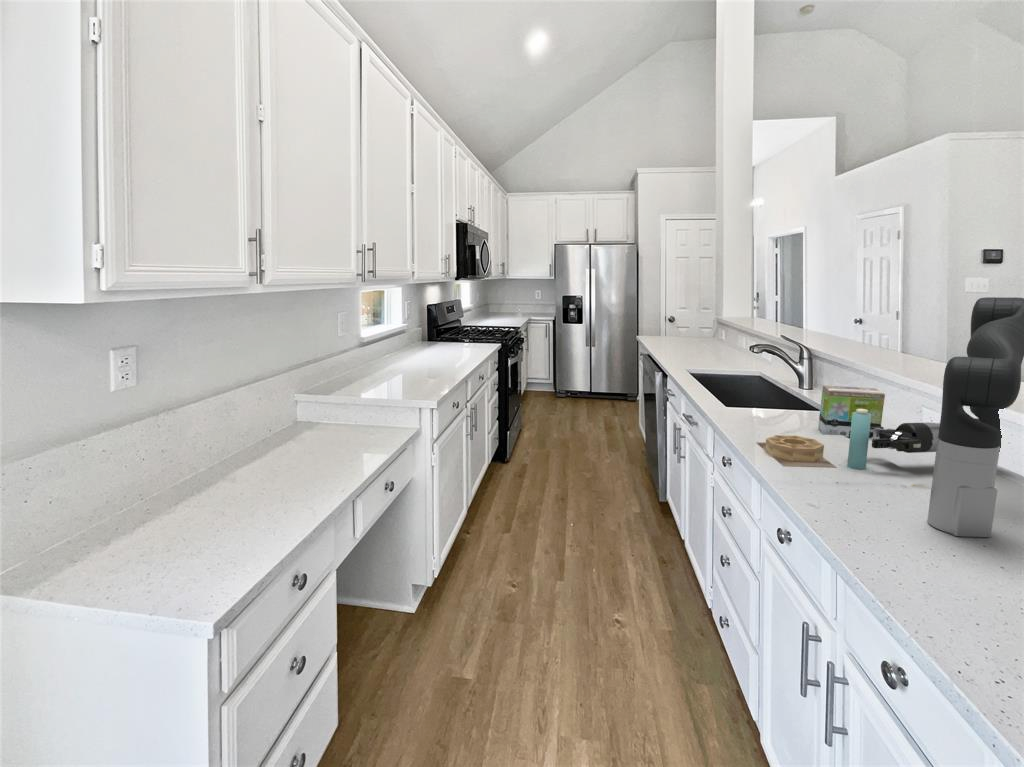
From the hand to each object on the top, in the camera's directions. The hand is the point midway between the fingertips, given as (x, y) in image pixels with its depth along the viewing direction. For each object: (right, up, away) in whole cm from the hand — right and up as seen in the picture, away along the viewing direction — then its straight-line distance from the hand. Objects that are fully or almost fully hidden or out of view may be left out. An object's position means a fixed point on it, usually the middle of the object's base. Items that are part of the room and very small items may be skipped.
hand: (861, 439), depth 140 cm
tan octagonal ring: (-11, -5, +12) cm, 17 cm away
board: (-11, -6, +13) cm, 18 cm away
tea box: (+18, -2, +36) cm, 41 cm away
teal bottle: (0, -8, +2) cm, 9 cm away
